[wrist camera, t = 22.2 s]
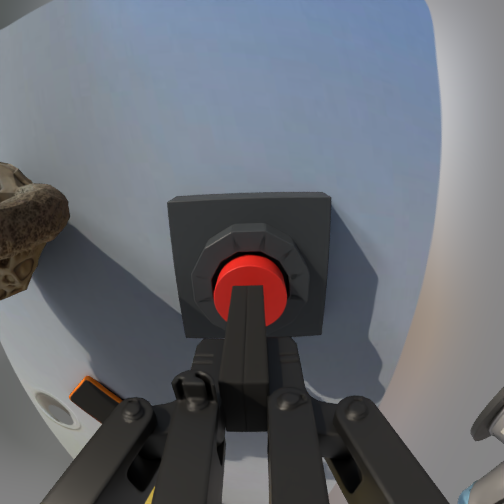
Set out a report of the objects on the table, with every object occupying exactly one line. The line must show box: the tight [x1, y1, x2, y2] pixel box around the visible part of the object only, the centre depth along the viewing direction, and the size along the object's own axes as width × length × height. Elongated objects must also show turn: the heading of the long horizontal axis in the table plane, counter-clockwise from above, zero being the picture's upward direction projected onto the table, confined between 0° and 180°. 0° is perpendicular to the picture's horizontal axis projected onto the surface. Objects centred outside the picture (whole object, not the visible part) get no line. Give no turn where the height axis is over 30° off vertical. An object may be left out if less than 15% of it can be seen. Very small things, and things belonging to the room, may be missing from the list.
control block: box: [167, 192, 331, 338], centre depth 18 cm, size 10×10×4 cm
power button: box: [214, 254, 287, 326], centre depth 16 cm, size 4×4×2 cm
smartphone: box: [69, 376, 123, 424], centre depth 27 cm, size 8×17×1 cm, turn 45°
